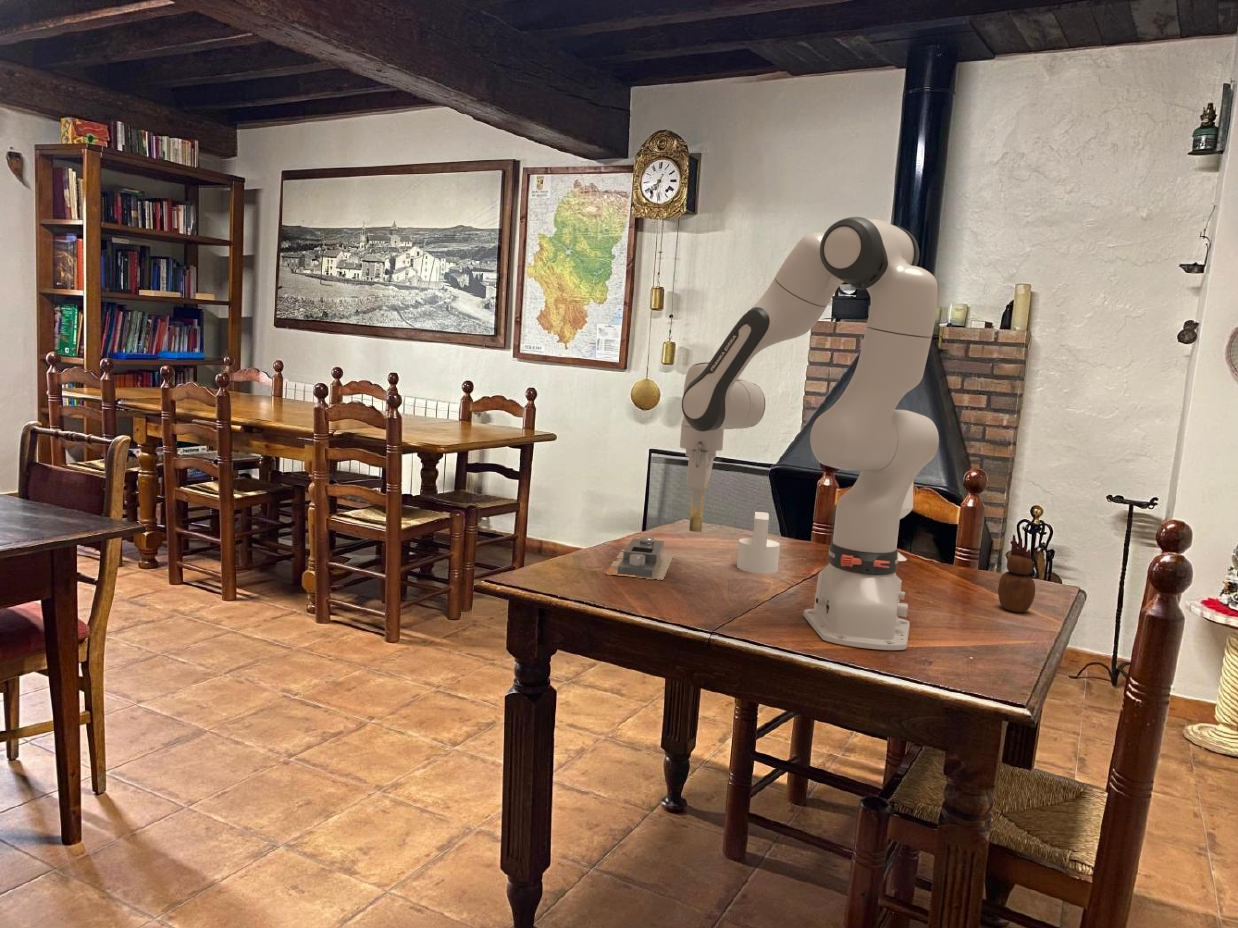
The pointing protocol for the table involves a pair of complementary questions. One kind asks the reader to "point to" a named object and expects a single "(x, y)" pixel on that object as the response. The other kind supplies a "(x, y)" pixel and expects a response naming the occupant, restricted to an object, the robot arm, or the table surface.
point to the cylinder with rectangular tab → (758, 549)
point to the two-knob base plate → (644, 559)
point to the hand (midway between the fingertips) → (697, 506)
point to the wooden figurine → (1017, 580)
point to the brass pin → (697, 515)
